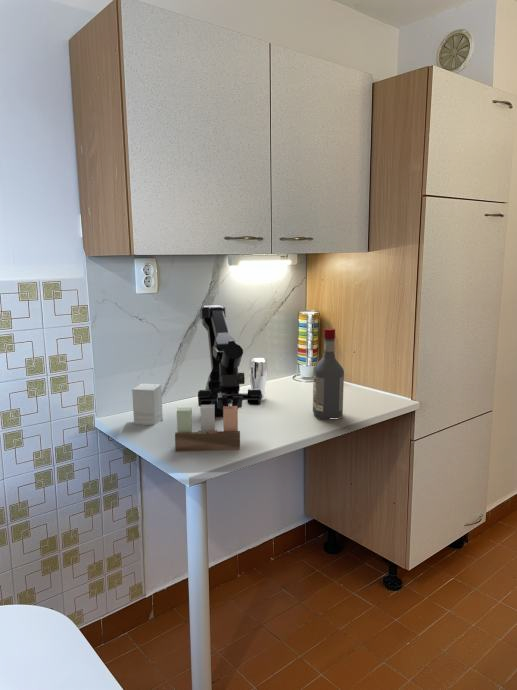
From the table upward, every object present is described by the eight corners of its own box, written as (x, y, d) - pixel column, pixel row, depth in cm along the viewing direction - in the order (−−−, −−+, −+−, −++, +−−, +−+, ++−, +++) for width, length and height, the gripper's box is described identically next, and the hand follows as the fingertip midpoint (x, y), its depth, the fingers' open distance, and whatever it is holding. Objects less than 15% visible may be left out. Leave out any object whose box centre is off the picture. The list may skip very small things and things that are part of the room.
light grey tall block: (201, 440, 158) (200, 404, 155) (214, 440, 158) (214, 404, 156) (201, 444, 155) (200, 407, 153) (215, 444, 155) (214, 407, 153)
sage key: (178, 444, 155) (177, 407, 153) (192, 443, 155) (191, 407, 153) (177, 448, 152) (176, 410, 150) (192, 447, 152) (191, 410, 150)
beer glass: (261, 395, 209) (261, 357, 206) (270, 399, 203) (271, 360, 200) (245, 397, 205) (245, 359, 202) (254, 402, 199) (254, 362, 196)
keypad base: (177, 443, 158) (176, 423, 157) (238, 442, 160) (238, 421, 158) (175, 455, 150) (174, 433, 149) (240, 453, 151) (240, 431, 150)
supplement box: (163, 421, 178) (162, 384, 176) (154, 428, 171) (153, 390, 169) (142, 419, 180) (141, 382, 177) (133, 426, 173) (131, 388, 170)
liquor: (336, 411, 189) (339, 326, 184) (344, 419, 180) (347, 331, 175) (311, 411, 188) (313, 327, 182) (317, 420, 179) (319, 331, 174)
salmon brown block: (223, 442, 156) (223, 406, 154) (237, 442, 157) (237, 405, 154) (223, 446, 153) (223, 409, 151) (237, 446, 154) (237, 409, 152)
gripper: (197, 363, 157) (197, 411, 148) (261, 362, 159) (264, 409, 150) (198, 382, 166) (198, 428, 157) (258, 381, 168) (261, 427, 159)
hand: (230, 423), depth 156 cm, fingers closed, pressing on salmon brown block
